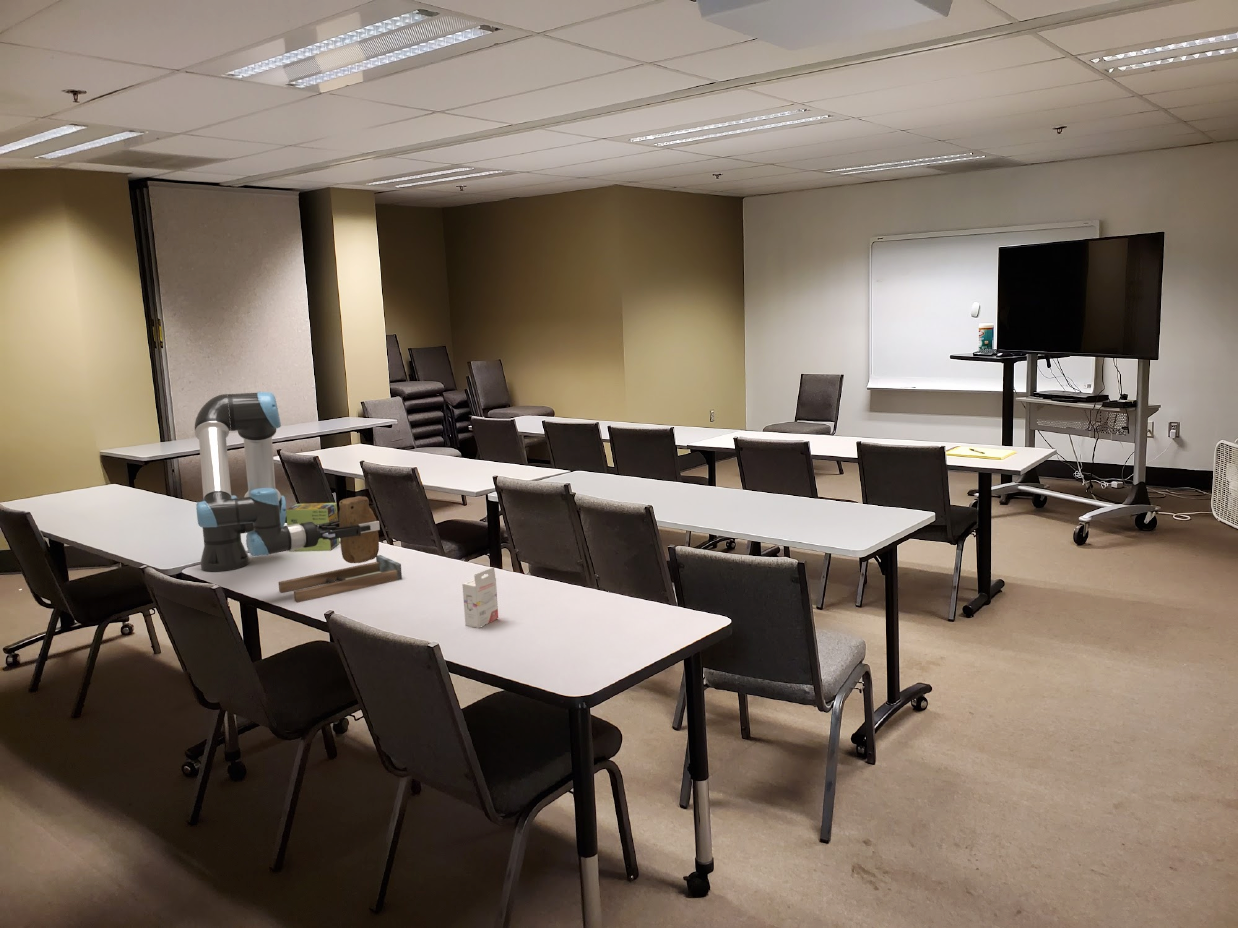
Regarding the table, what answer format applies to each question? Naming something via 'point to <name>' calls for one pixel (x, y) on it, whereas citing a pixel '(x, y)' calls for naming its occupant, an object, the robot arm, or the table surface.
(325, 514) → the protein box
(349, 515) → the block
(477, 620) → the ink cartridge box
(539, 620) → the table surface
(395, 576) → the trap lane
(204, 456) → the robot arm
